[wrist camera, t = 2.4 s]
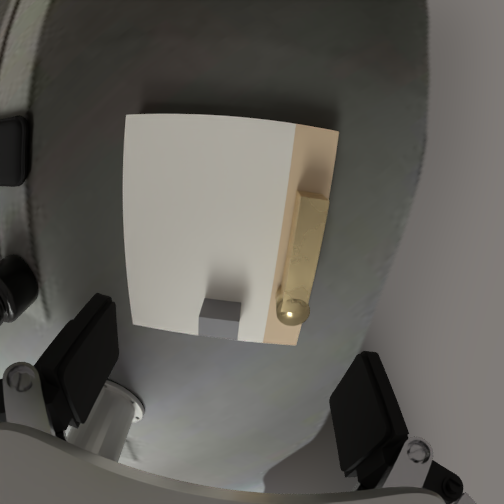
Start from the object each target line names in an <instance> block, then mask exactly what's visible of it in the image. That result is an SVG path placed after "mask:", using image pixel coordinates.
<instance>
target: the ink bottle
mask: <svg viewBox="0 0 504 504" xmlns="http://www.w3.org/2000/svg"><path fill="white" fill-rule="evenodd" d="M37 295H38V287H37V283H36V280H35V277H34V275H33V273H32V271H31V269H30V268H29V266H28V265H27V264H26V262H25V261H24V260H23V259H22V258H21V257H19V256H17V255H8V256H6V257H5V258H3V259H2V260H0V325H1V324H2V323H3V321H4V322H8V323H10V322H13V321H15V320H16V319H17V318H18V317H19V316H20V315H21V314H22V313H23V312H24V311H25V310H26V309H27V308H28V307H29V306H30V305H31V304H32V303H33V302H34V301H35V300H36V298H37Z"/></svg>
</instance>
